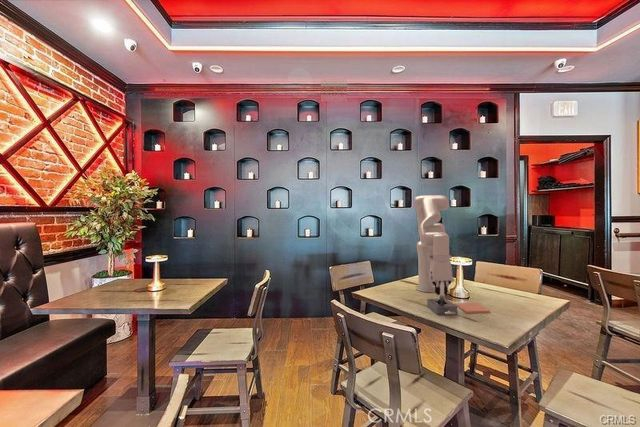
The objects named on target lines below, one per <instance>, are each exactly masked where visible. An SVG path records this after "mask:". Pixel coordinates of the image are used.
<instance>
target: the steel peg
mask: <svg viewBox="0 0 640 427" xmlns="http://www.w3.org/2000/svg"><path fill="white" fill-rule="evenodd" d="M439 288H440V295H437V299H438V304H445V299H446V296H445V281H439Z"/></svg>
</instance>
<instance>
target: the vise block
mask: <svg viewBox="0 0 640 427" xmlns="http://www.w3.org/2000/svg"><path fill="white" fill-rule="evenodd" d="M426 307H427V308H428V309H429V310H431V311H432V312H433V313H434V314H435V315H436V316H447V315H448V316H450V315H451V316H452V315H456V316H457V315H458V307H457V306H456V305H455V304H454V303H453V302H451V301H450V300H449V299H447V298H445V304H438V298H427V299H426Z"/></svg>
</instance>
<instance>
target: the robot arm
mask: <svg viewBox="0 0 640 427" xmlns="http://www.w3.org/2000/svg"><path fill="white" fill-rule="evenodd" d="M413 206H414V210H415V212H416V216H417V226H418V228H417V230H418V235H419V236H418V237H419V241H417V243H416V253H417V262H418V268H417V269H418V271H417V272H418V273H417V274H418V285H417V286H416V287H415V290H417V291H419V292H423V293H435V294H436V295H437V296H438V295H440V288H439V281H445V295H446V296H447V295H448V293H449V290H448V289H449V286H450V285H451V283H453V282H455V278H454V276H453V268H452V262H451V260H450V259H452V255H450V236H449V235H448V234H447V232H446V227H445V225H444V224H443V223H440V221H441V220H442V216H441V211H446V210H448V209H449V207H450V203H449V199H448V197H447V196H446V195H443V194H442V195H441V194H435V195H434V194H432V195H427V194H426V195H425V194H424V195H418V196H417V195H416V197H414V198H413ZM431 256H432V257H431Z"/></svg>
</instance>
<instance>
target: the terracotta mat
mask: <svg viewBox="0 0 640 427" xmlns="http://www.w3.org/2000/svg"><path fill="white" fill-rule="evenodd" d="M453 304H455V305H456V306H457V309H459V310H461V311H462V312H464V313H465V314H489V313H491V310H490V309H488V308H486V307H485V306H483V305H482V304H480V303H478V302H458V303H457V302H454V303H453Z"/></svg>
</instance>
